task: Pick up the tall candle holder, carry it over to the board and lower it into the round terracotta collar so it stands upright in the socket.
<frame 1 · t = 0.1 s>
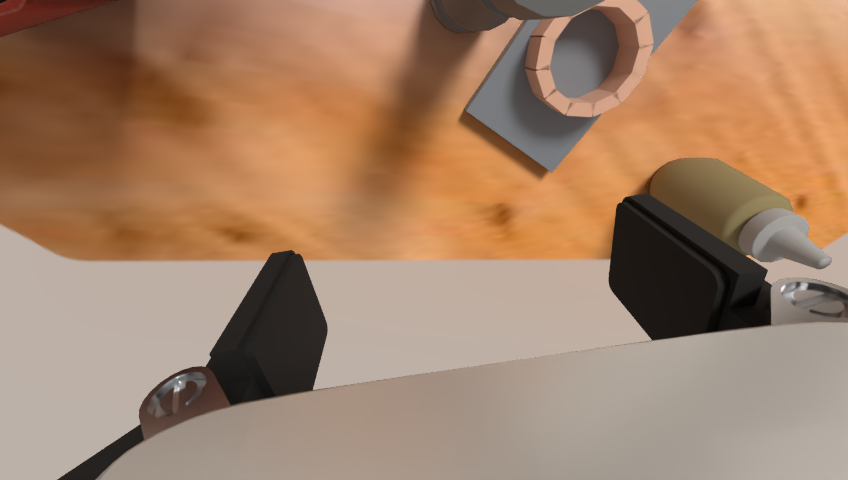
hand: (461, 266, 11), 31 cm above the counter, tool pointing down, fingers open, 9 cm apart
socket board: (571, 55, 37), on the counter
squeeze bottle: (671, 181, 44), on the counter
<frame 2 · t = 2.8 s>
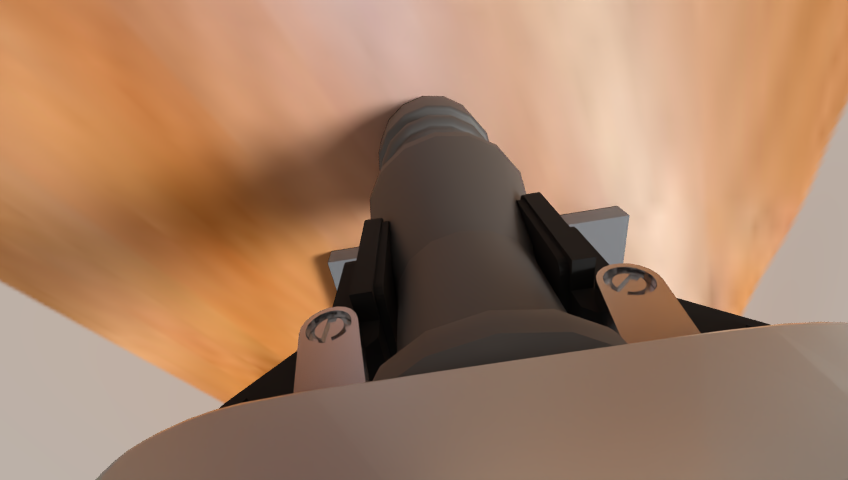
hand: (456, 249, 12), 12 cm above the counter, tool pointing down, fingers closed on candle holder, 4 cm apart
socket board: (479, 297, 28), on the counter
candle holder: (431, 147, 23), on the counter, touching gripper
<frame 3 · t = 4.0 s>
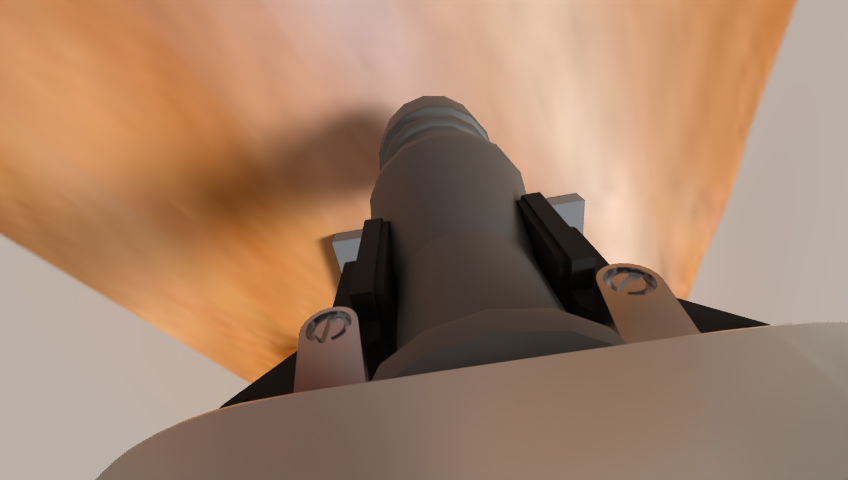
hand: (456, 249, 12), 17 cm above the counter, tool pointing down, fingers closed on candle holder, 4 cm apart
socket board: (462, 274, 33), on the counter
candle holder: (432, 147, 23), point 5 cm above the counter, touching gripper
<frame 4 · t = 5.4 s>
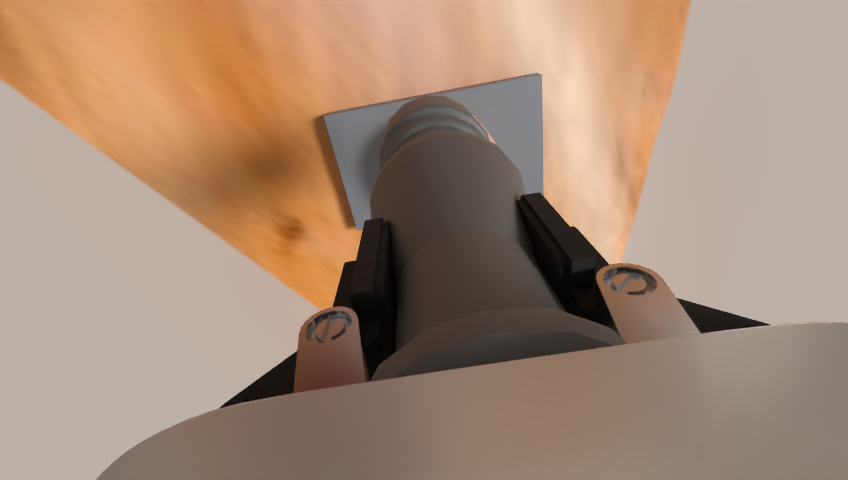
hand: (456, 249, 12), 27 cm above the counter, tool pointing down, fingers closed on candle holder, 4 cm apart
socket board: (439, 155, 37), on the counter
candle holder: (432, 147, 23), point 14 cm above the counter, touching gripper
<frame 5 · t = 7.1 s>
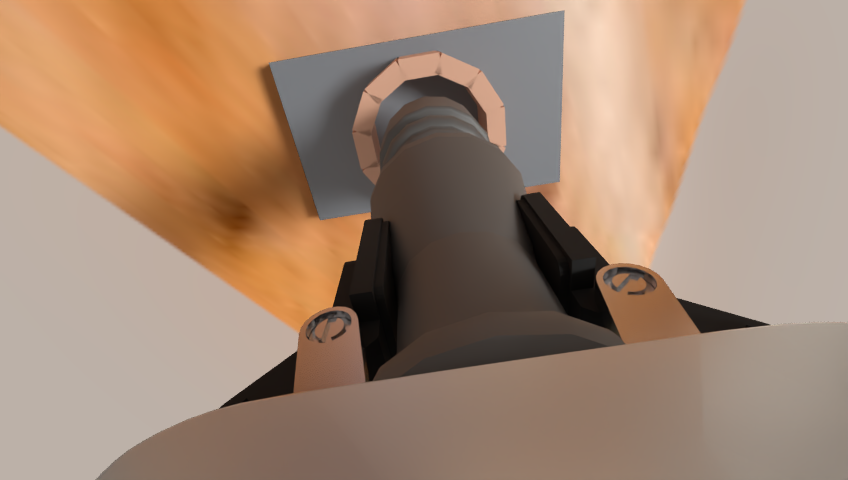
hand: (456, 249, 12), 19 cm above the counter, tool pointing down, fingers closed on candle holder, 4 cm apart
socket board: (426, 123, 29), on the counter
candle holder: (432, 148, 23), point 7 cm above the counter, touching gripper
when the fingers open (16 cm above the counter, at t = 8.1 s): candle holder drops 2 cm, resting on socket board.
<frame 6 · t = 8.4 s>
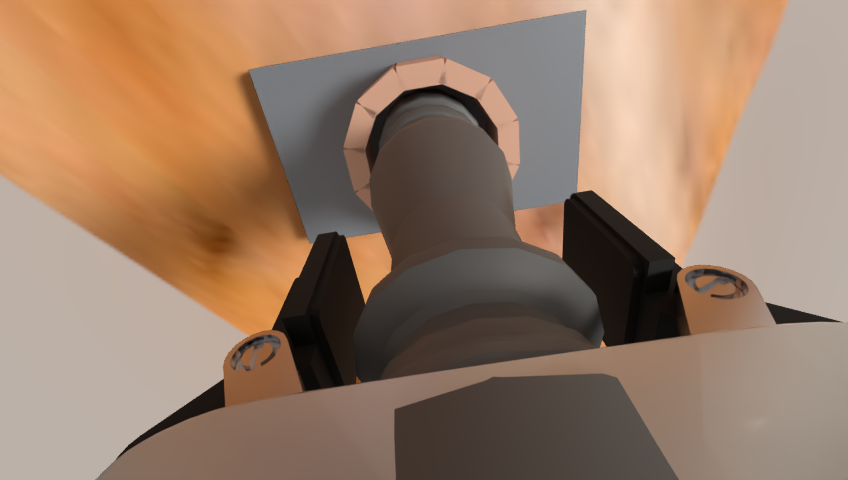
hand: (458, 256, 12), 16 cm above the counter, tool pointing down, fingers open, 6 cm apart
socket board: (428, 136, 26), on the counter
candle holder: (428, 137, 24), point 1 cm above the counter, touching socket board
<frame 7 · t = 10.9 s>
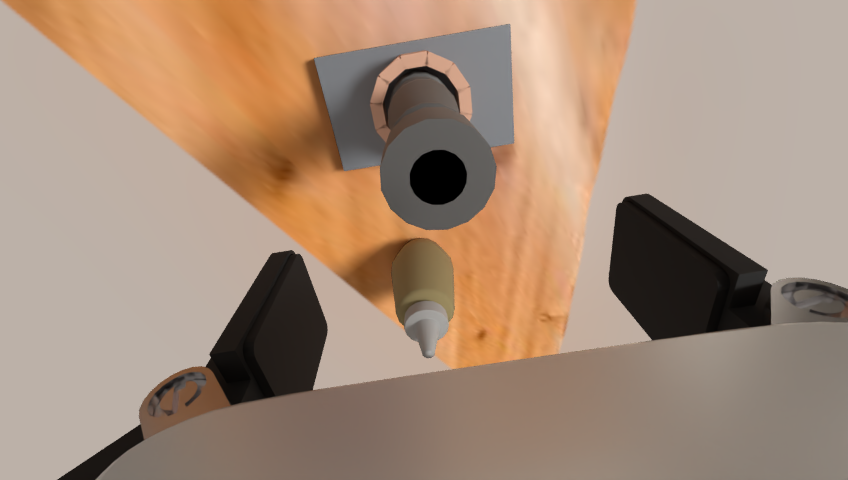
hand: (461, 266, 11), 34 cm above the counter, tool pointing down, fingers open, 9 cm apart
socket board: (419, 101, 41), on the counter
squeeze bottle: (421, 255, 51), on the counter
candle holder: (419, 100, 40), point 1 cm above the counter, touching socket board
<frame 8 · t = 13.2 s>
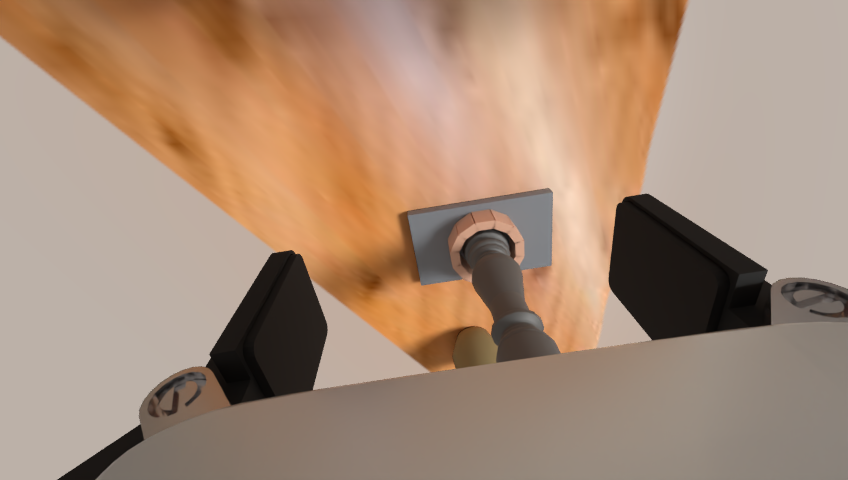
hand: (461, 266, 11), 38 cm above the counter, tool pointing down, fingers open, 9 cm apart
socket board: (481, 236, 54), on the counter
squeeze bottle: (472, 337, 64), on the counter
candle holder: (482, 239, 53), point 1 cm above the counter, touching socket board
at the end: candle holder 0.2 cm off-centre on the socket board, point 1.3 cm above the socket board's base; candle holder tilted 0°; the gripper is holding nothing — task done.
